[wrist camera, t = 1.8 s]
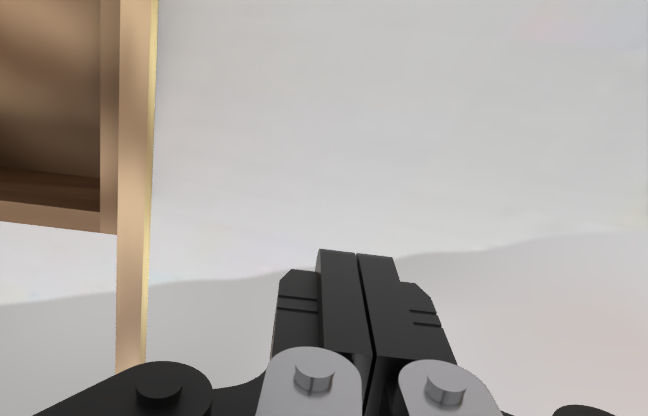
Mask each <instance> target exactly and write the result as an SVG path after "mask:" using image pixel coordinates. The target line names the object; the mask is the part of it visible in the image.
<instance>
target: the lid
mask: <svg viewBox="0 0 648 416" xmlns="http://www.w3.org/2000/svg"><path fill="white" fill-rule="evenodd" d="M158 1H159V0H120V73H119V145H118V218H117V291H116V366H115V368H116V369H115V375H116V374H118V373H120V372H122V371H124V370H126V369H128V368H131V367H133V366H136V365H139V364H143V363H145V359H146V331H147V304H148V277H149V249H150V221H151V194H152V166H153V139H154V111H155V84H156V56H157V28H158Z"/></svg>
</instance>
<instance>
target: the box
mask: <svg viewBox="0 0 648 416" xmlns="http://www.w3.org/2000/svg"><path fill="white" fill-rule="evenodd" d="M158 2H159V1H158ZM157 29H158V28H157ZM156 57H157V56H156ZM119 73H120V0H0V221H5V222H13V223H22V224H30V225H38V226H47V227H55V228H64V229H72V230H81V231H89V232H98V233H106V234H114V235H117V218H118V145H119ZM154 112H155V111H154ZM153 140H154V139H153ZM152 167H153V166H152ZM151 195H152V194H151Z"/></svg>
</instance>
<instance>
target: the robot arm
mask: <svg viewBox="0 0 648 416" xmlns="http://www.w3.org/2000/svg"><path fill="white" fill-rule="evenodd" d="M33 416H513V415H510V414H508V413H505V412H503V411H501V410H500V409H499V407H498V405H497V404H496V402H495V400H494V398H493V396H492V395H491V393H490V391H489V390H488V388H487V387H486V385H485V384H484V383H483V382H482V381H481V380H480V379H479V378H478V377H476V376H475V375H474V374H472V373H471V372H469V371H467V370H466V369H464V368H462V367H459V366H458V365H457V362H456V360H455V357H454V355H453V352H452V350H451V347H450V345H449V343H448V340H447V338H446V335H445V333H444V330H443V328H441V323H440V320H439V318H438V316H437V315H436V310H435V308H434V305H433V303H432V300H431V298H430V297H429V296H428V295H427V294H426V293H425V292H424V291H423V290H422V289H420V287H419V286H418V285H416V284H415V283H408V282H400V280H399V277H398V273H397V270H396V267H395V264H394V261H393V258H392V257H385V256H377V255H369V254H360V253H357V254H356V255H355V253H351V252H343V251H334V250H326V249H319V251H318V256H317V261H316V268H315V272H312V271H304V270H295V269H291V270H290V271H289V272H288V273H287V274H286V275H285V276H284V277H283V278H282V279H281V280H280V282H279V290H278V298H277V306H276V313H275V321H274V329H273V336H272V344H271V353H270V362H269V364H268V366H267V369H266V370H265V371H264V372H263V373H262V374H261V375H260V376H259V377H257V378H255V379H254V380H251V381H249V382H247V383H244V384H241V385H237V386H232V387H226V388H219V389H212V386H211V383H210V381H209V380H208V379H207V377H206V376H205V375H204V374H202V373H201V372H200V371H199V370H197V369H195V368H193V367H191V366H188V365H185V364H181V363H178V362H170V361H156V362H148V363H143V364H139V365H136V366H133V367H131V368H128V369H126V370H124V371H122V372H120V373H118V374H116V375H114V376H112V377H110V378H108V379H106V380H104V381H102V382H100V383H98V384H96V385H94V386H92V387H90V388H87V389H85V390H84V391H81V392H79V393H77V394H75V395H73V396H71V397H69V398H67V399H65V400H63V401H61V402H59V403H57V404H55V405H53V406H51V407H49V408H47V409H45V410H43V411H41V412H39V413H37V414H35V415H33ZM553 416H615V415H613V414H610V413H608V412H606V411H603V410H600V409H597V408H594V407H589V406H584V405H567V406H563V407H561V408H559V409H557V410H556V411H555V412H554V414H553Z"/></svg>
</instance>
